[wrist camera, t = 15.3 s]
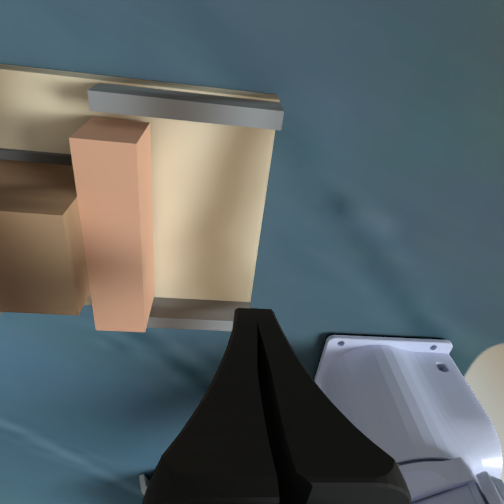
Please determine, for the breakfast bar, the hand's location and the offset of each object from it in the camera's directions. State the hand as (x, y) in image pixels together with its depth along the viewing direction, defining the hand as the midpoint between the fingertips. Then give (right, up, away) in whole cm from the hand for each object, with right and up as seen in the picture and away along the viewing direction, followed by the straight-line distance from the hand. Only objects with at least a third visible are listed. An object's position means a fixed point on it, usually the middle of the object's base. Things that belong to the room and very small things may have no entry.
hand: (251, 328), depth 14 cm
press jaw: (-6, +5, +6) cm, 10 cm away
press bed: (-7, +6, +7) cm, 12 cm away
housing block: (-10, +5, +6) cm, 13 cm away
